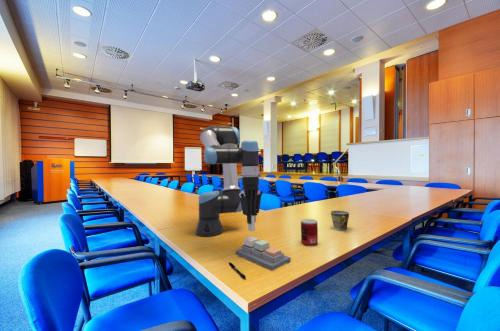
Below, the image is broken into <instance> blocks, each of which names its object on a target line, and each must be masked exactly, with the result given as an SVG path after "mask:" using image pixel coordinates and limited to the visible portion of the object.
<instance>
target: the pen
mask: <svg viewBox="0 0 500 331" xmlns="http://www.w3.org/2000/svg"><path fill="white" fill-rule="evenodd" d="M228 264H229V266H230V267H231V268H232V269H233V270H234V271H235V272H236V273H237V274H238V275H239V276H240V278H241V279H243V280H244V281H245V280H247V278H246V275H245V274H244V273H242V272H241V271H240V270H239V269H238V268H237V266H235V265H234V263H233V262H229V261H228Z"/></svg>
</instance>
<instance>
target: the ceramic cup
mask: <svg viewBox="0 0 500 331" xmlns="http://www.w3.org/2000/svg"><path fill="white" fill-rule="evenodd" d="M349 217H350V212H348V211H346V210H331V211H330V218H331V220H332V226H333V229H334V231H335V230H336V231H339V232H340V231H341V232H345V231H347V228H348V223H349Z"/></svg>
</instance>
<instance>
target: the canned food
mask: <svg viewBox="0 0 500 331" xmlns="http://www.w3.org/2000/svg"><path fill="white" fill-rule="evenodd" d="M318 232H319V230H318V220H316V219H312V218H304V219H301V220H300V238H301V239H300V240H301V244H302V245H304V246H306V247H314V246H317V245H318V242H319V238H318V234H319V233H318Z"/></svg>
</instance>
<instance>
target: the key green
mask: <svg viewBox="0 0 500 331" xmlns="http://www.w3.org/2000/svg"><path fill="white" fill-rule="evenodd" d="M254 248H255V249H257V250H260V251H264V250H266V249H269V248H270V242H269V241H266V240H264V239H261V240H260V239H259V241H256V242H254Z"/></svg>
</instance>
